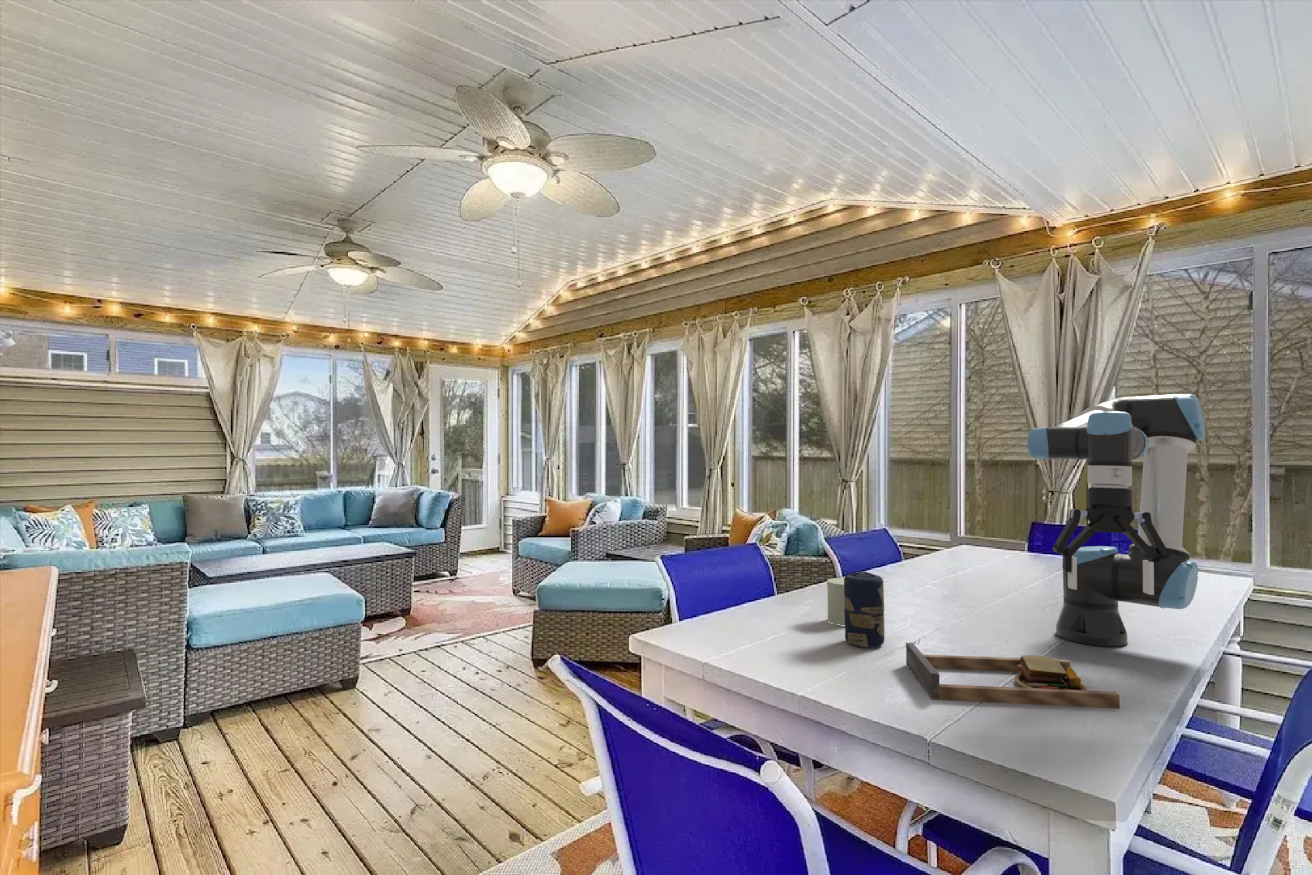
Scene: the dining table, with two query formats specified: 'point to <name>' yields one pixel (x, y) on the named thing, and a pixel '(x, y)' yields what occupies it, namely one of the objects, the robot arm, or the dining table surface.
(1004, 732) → the dining table surface
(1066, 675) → the toy sandwich meal
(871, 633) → the canister
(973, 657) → the open-ended frame
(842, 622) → the can
